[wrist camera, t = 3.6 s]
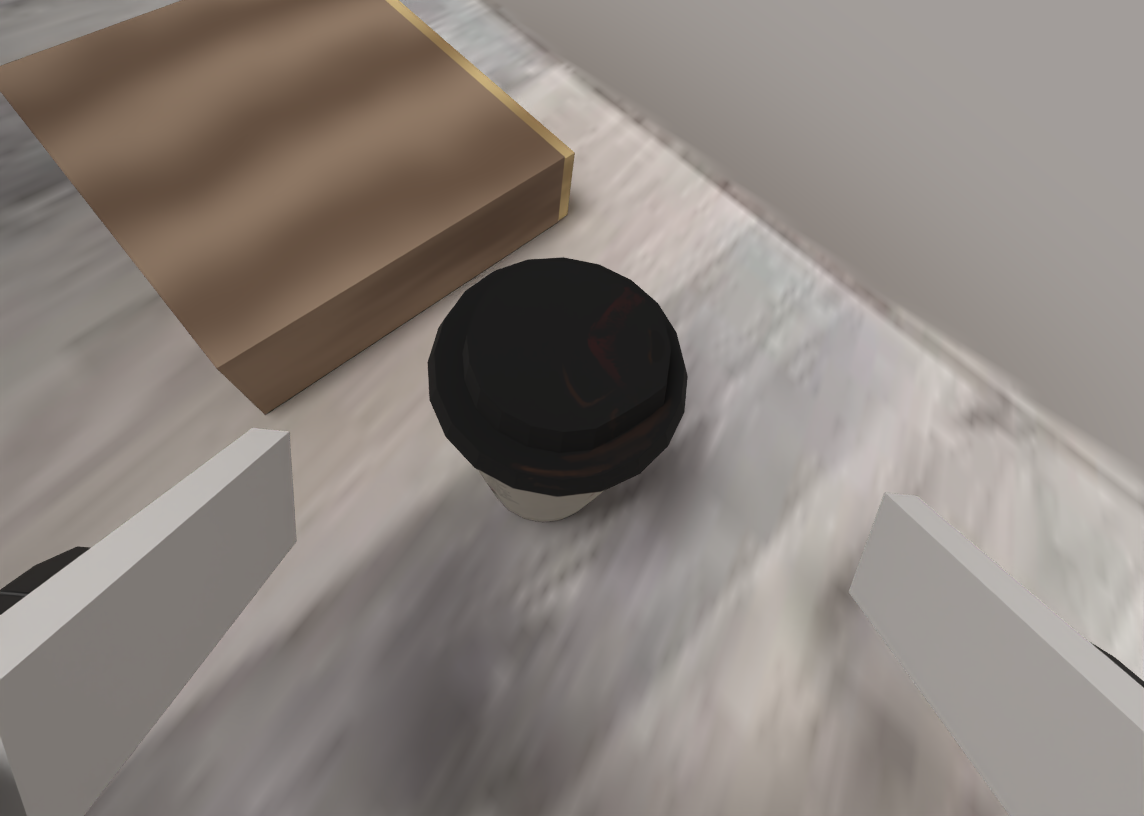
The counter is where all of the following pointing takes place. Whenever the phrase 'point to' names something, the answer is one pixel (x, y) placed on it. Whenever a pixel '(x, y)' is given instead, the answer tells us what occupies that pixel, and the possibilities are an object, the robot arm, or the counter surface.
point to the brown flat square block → (292, 171)
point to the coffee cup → (556, 383)
